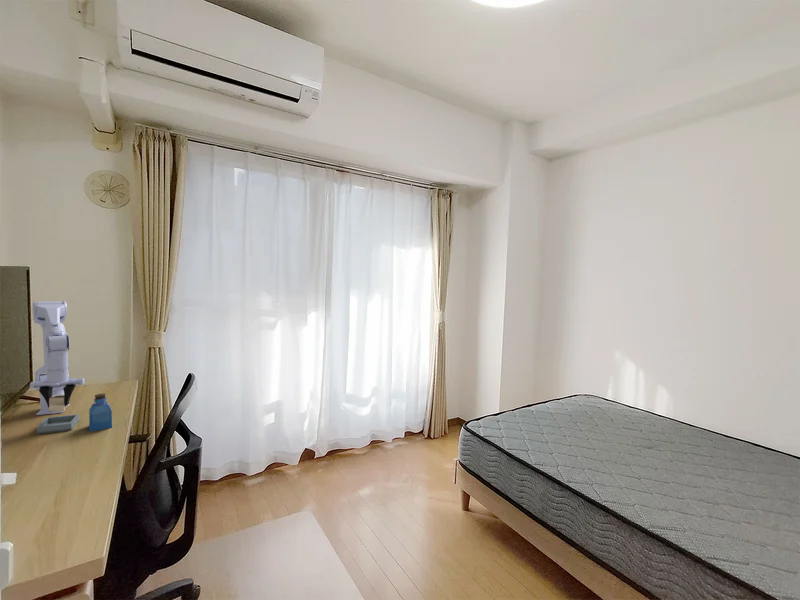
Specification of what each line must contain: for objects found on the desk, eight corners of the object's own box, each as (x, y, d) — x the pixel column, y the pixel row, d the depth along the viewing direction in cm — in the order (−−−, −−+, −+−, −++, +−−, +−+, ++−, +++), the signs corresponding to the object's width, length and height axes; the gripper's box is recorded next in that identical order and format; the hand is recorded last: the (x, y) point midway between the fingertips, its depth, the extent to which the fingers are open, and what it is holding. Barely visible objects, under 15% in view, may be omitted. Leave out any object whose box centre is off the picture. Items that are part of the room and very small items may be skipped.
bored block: (53, 408, 138) (53, 395, 137) (67, 407, 140) (67, 394, 139) (49, 412, 134) (49, 398, 134) (63, 411, 136) (63, 397, 136)
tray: (46, 424, 139) (46, 417, 139) (79, 420, 144) (79, 414, 143) (36, 434, 131) (36, 427, 131) (71, 430, 135) (71, 423, 135)
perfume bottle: (90, 431, 135) (89, 399, 134) (89, 425, 140) (88, 394, 139) (111, 427, 139) (111, 395, 138) (110, 422, 144) (110, 391, 143)
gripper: (25, 373, 129) (27, 412, 130) (80, 370, 135) (80, 406, 136) (34, 368, 135) (35, 405, 136) (85, 365, 142) (86, 400, 143)
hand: (58, 405), depth 137 cm, fingers closed on bored block, 4 cm apart
